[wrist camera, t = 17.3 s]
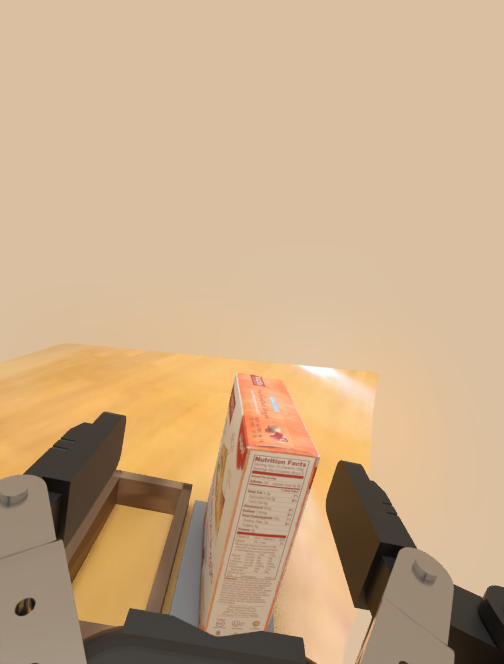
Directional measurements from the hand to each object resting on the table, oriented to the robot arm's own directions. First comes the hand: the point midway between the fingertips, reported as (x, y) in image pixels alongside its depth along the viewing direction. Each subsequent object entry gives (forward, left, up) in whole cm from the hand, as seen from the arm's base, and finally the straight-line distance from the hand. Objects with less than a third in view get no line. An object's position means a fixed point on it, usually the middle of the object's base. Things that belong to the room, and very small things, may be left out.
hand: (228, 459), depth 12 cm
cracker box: (+4, +17, -26) cm, 31 cm away
